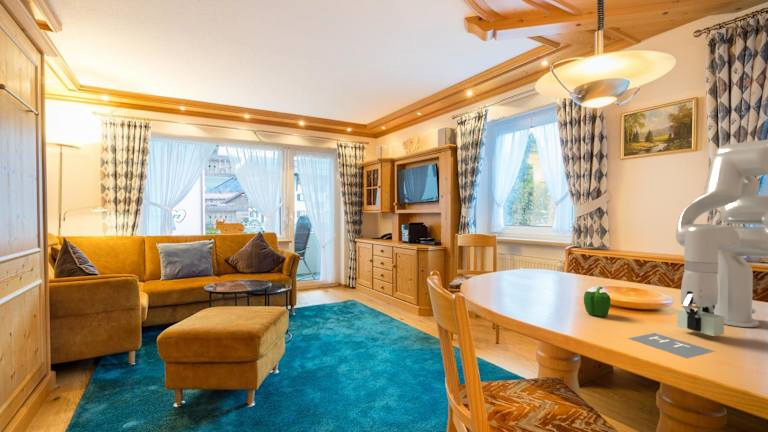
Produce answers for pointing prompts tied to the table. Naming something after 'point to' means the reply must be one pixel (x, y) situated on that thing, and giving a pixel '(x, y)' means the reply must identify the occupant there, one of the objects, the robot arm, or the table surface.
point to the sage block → (704, 322)
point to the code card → (671, 345)
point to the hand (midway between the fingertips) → (699, 328)
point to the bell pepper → (597, 303)
